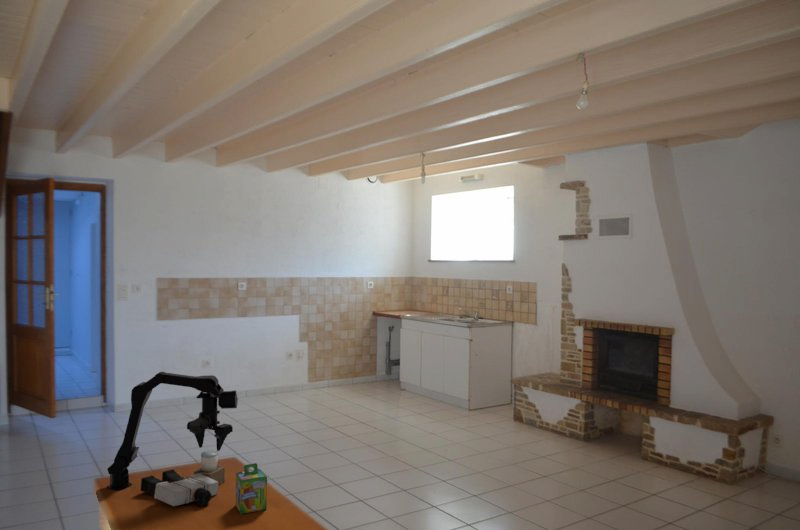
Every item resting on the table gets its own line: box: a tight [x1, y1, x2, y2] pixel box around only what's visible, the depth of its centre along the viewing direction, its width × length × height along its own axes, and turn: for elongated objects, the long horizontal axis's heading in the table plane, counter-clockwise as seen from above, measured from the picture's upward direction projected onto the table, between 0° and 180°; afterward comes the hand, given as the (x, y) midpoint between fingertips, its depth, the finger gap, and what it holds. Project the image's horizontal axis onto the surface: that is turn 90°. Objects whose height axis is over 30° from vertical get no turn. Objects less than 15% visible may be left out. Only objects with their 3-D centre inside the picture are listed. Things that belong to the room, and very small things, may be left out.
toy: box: [140, 469, 219, 507], centre depth 211 cm, size 19×7×30 cm
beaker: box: [200, 450, 219, 472], centre depth 224 cm, size 6×6×6 cm
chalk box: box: [235, 462, 268, 515], centre depth 202 cm, size 9×9×15 cm
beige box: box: [193, 465, 226, 486], centre depth 224 cm, size 8×8×6 cm
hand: (209, 449), depth 225 cm, fingers open, 9 cm apart
